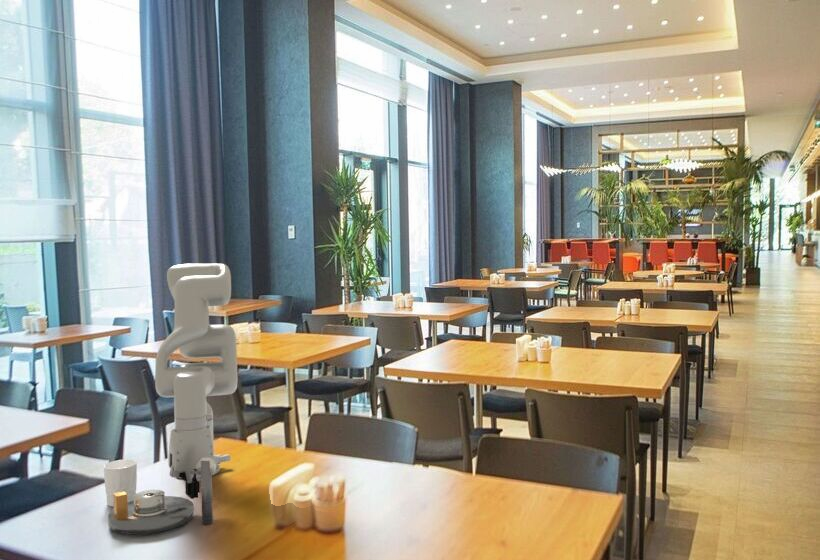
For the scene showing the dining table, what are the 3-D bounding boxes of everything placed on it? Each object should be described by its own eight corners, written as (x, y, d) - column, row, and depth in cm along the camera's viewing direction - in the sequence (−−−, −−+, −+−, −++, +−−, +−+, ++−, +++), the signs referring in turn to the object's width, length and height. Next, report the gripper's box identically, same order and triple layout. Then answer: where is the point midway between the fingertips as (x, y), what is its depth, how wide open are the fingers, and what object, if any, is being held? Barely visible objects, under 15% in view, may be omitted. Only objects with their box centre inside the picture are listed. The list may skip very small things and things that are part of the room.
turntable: (178, 497, 182) (177, 469, 182) (205, 520, 167) (205, 489, 167) (99, 515, 171) (98, 485, 171) (121, 541, 156) (120, 508, 155)
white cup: (126, 509, 178) (125, 469, 177) (98, 507, 179) (96, 468, 179) (144, 498, 185) (143, 460, 185) (116, 496, 187) (115, 458, 186)
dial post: (218, 521, 169) (216, 455, 168) (214, 525, 167) (213, 458, 166) (194, 520, 170) (192, 455, 169) (190, 524, 167) (188, 458, 166)
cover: (159, 503, 174) (158, 486, 174) (171, 511, 168) (171, 494, 168) (127, 510, 169) (127, 494, 169) (139, 520, 163) (138, 502, 163)
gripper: (214, 415, 182) (216, 486, 183) (154, 424, 173) (157, 499, 174) (226, 421, 176) (227, 494, 177) (164, 431, 167) (167, 508, 168)
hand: (192, 496), depth 175 cm, fingers closed
